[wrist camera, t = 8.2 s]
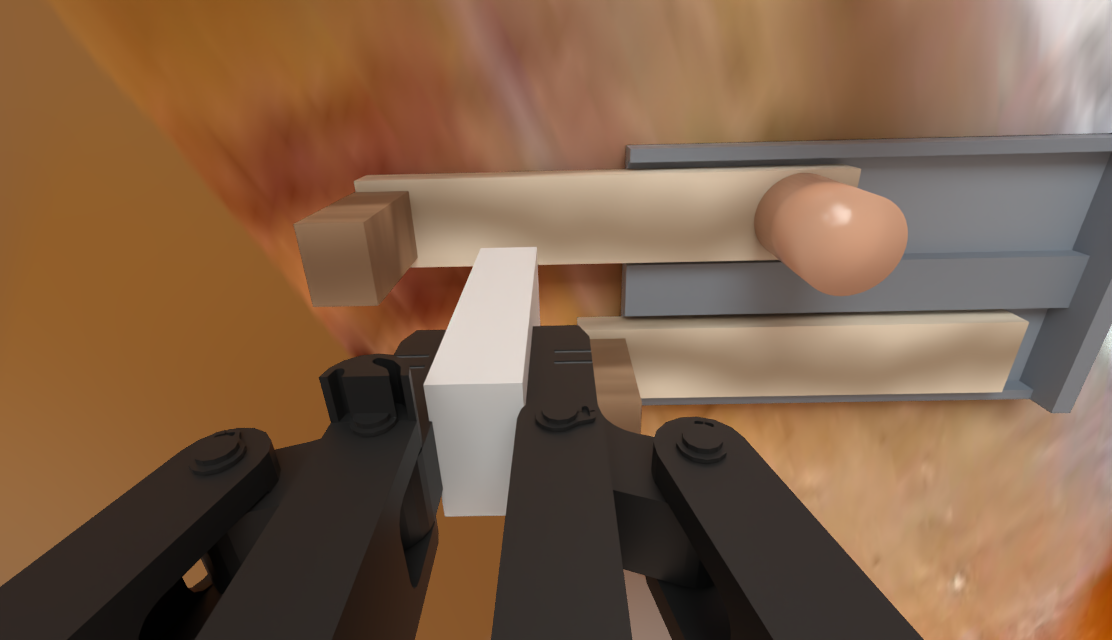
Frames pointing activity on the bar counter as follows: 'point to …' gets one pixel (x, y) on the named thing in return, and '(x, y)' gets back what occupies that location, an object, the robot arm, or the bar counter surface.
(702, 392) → the strip
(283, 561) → the robot arm
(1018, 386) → the lane board
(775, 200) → the terracotta cylinder
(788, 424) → the bar counter surface
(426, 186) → the strip
